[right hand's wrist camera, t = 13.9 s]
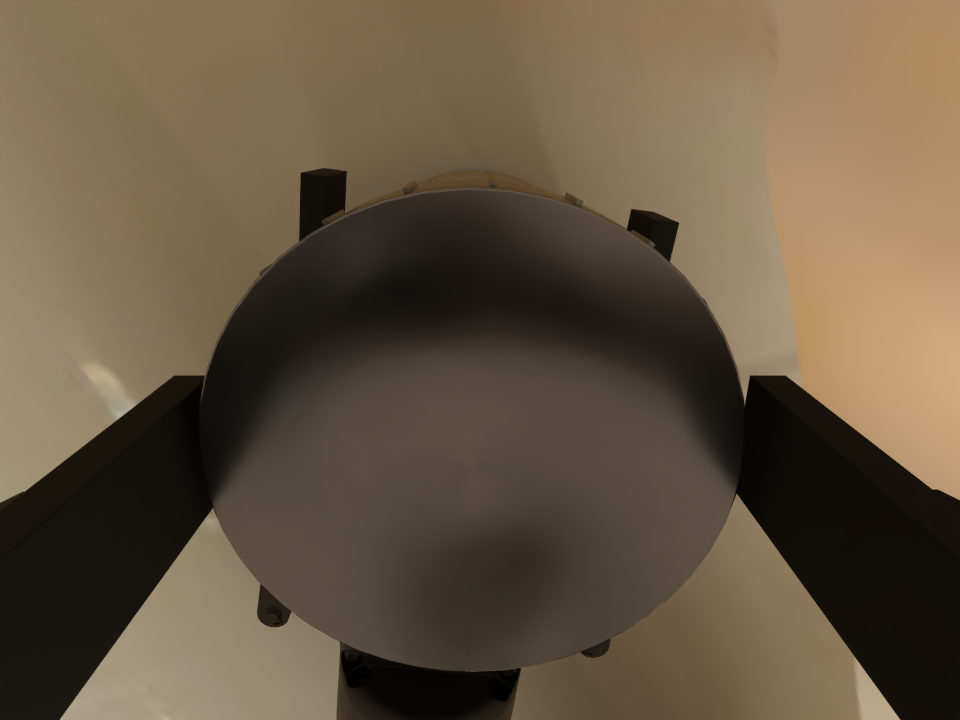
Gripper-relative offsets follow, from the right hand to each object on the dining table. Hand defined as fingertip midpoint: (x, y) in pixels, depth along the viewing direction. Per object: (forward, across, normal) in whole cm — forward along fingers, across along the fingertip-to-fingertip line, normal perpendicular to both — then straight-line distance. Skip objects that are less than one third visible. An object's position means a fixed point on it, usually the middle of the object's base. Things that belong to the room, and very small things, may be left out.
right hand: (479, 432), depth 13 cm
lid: (-1, 0, 0) cm, 1 cm away
